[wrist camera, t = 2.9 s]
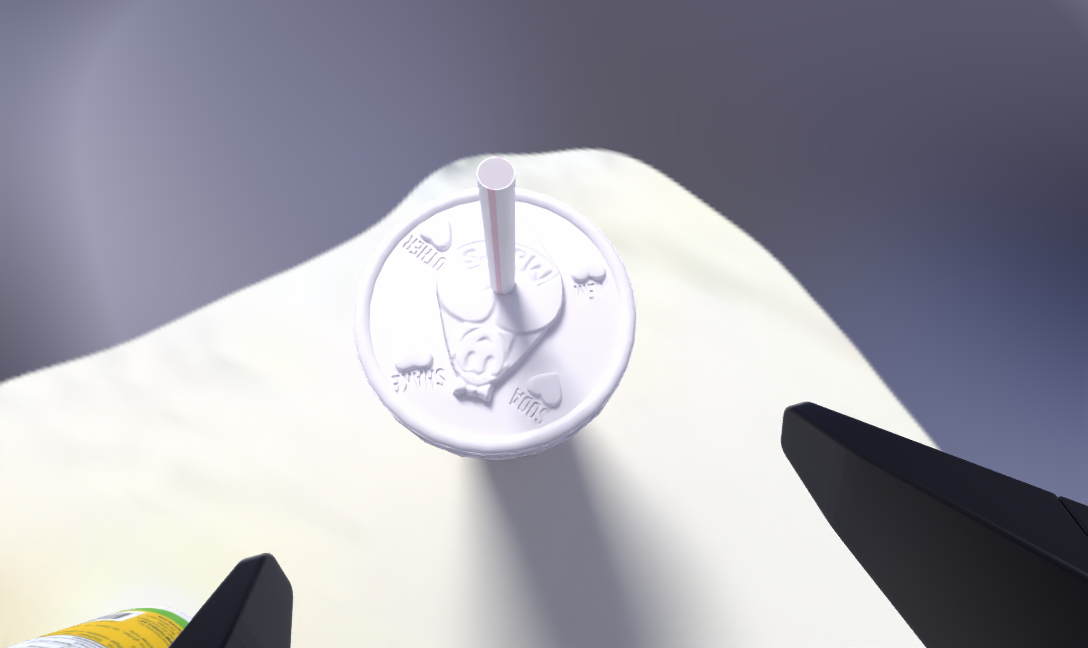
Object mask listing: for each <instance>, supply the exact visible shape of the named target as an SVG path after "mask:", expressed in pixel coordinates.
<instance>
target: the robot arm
mask: <svg viewBox="0 0 1088 648" xmlns="http://www.w3.org/2000/svg"><path fill="white" fill-rule="evenodd" d="M781 446H782V449H783V451H784V453H785V455H786V457H787V458H788V460H789V462H790V463H791V465H792V466H793V468H794V469H795V471H796V472H797V474H798V476H799V477H800V479H801V480H802V482H803V483H804V485H805V487H806V488H807V490H808V491H809V493H810V494H811V496H812V498H813V499H814V501H815V502H816V504H817V505H818V507H819V508H820V510H821V512H822V513H823V515H824V516H825V518H826V519H827V521H828V522H829V524H830V525H831V527H832V528H833V529H834V531H835V532H836V533H837V535H838V536H839V537H840V539H841V540H842V541H843V542H844V544H845V545H846V546H847V547H848V549H849V550H850V551H851V553H852V554H853V555H854V556H855V558H856V559H857V560H858V561H859V563H860V564H861V565H862V567H863V568H864V569H865V570H866V572H867V573H868V574H869V575H870V577H871V578H872V579H873V581H874V582H875V583H876V584H877V586H878V587H879V588H880V589H881V591H882V592H883V593H884V595H885V596H886V597H887V598H888V600H889V601H890V602H891V603H892V605H893V606H894V607H895V609H896V610H897V611H898V612H899V614H900V615H901V616H902V617H903V619H904V620H905V621H906V623H907V624H908V625H909V626H910V628H911V629H912V630H913V631H914V633H915V634H916V635H917V637H918V638H919V639H920V640H921V642H922V643H923V644H924V645H925V647H926V648H1088V506H1086V505H1083V504H1081V503H1078V502H1075V501H1073V500H1070V499H1068V498H1065V497H1062V496H1059V497H1057V496H1056V495H1055V494H1054V493H1051V492H1049V491H1046V490H1043V489H1041V488H1038V487H1035V486H1033V485H1030V484H1027V483H1025V482H1022V481H1019V480H1016V479H1014V478H1011V477H1008V476H1006V475H1003V474H1001V473H998V472H995V471H993V470H990V469H987V468H984V467H982V466H979V465H977V464H974V463H971V462H969V461H966V460H963V459H961V458H958V457H955V456H953V455H950V454H947V453H945V452H942V451H939V450H937V449H934V448H931V447H929V446H926V445H923V444H921V443H918V442H915V441H913V440H910V439H907V438H905V437H902V436H900V435H897V434H894V433H892V432H889V431H886V430H884V429H881V428H878V427H876V426H873V425H870V424H868V423H865V422H862V421H860V420H857V419H854V418H852V417H849V416H846V415H844V414H841V413H838V412H836V411H833V410H830V409H828V408H825V407H822V406H820V405H817V404H814V403H811V402H802V403H799V404H795V405H791V406H788V407H787V408H786V409H785V411H784V415H783V424H782V434H781ZM292 609H293V591H292V586H291V584H290V582H289V580H288V578H287V577H286V575H285V574H284V572H283V570H282V569H281V567H280V565H279V564H278V562H277V561H276V559H275V558H274V556H273V555H271V554H270V553H263V554H260V555H256V556H253V557H249V558H245V559H243V560H242V561H240V562H239V563H238V564H237V565H236V566H235V568H234V569H233V570H232V571H231V572H230V574H229V575H228V576H227V577H226V578H225V580H224V581H223V582H222V583H221V584H220V586H219V587H218V588H217V589H216V590H215V592H214V593H213V594H212V595H211V596H210V598H209V599H208V600H207V601H206V602H205V604H204V605H203V606H202V607H201V608H200V610H199V611H198V612H197V613H196V615H195V616H194V617H193V618H192V619H191V621H190V622H189V623H188V624H187V625H186V627H185V628H184V629H183V630H182V631H181V633H180V634H179V635H178V636H177V637H176V639H175V640H174V641H173V642H172V643H171V645H170V646H169V647H168V648H290V645H291V627H292Z"/></svg>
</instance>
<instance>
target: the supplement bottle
mask: <svg viewBox="0 0 1088 648" xmlns="http://www.w3.org/2000/svg"><path fill="white" fill-rule="evenodd" d="M191 619H192V617H190V616H189V615H187V614H185V613H183V612H181V611H179V610H176V609H172V608H168V607H160V606H145V607H137V608H132V609H128V610H124V611H120V612H116V613H113V614H110V615H107V616H103V617H100V618H97V619H95V620H91V621H88V622H85V623H82V624H79V625H76V626H73V627H70V628H66V629H63V630H60V631H57V632H54V633H51V634H47V635H44V636H41V637H38V638H34V639H31V640H27V641H24V642H22V643H19V644H15V645H12V646H9V647H6V648H168V647H169V646H170V645H171V643H172V642H173V641H174V640H175V639H176V637H177V636H178V635H179V634H180V633H181V631H182V630H183V629H184V628H185V627H186V625H187V624H188V623H189V622H190V621H191Z"/></svg>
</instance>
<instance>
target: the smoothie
mask: <svg viewBox="0 0 1088 648" xmlns="http://www.w3.org/2000/svg"><path fill="white" fill-rule="evenodd" d="M477 181H478V187H477V188H471V189H465V190H461V191H457V192H453V193H450V194H447V195H444V196H441V197H439V198H437V199H435V200H432V201H430V202H428V203H426V204H425V205H423V206H421V207H419V208H417V209H416V210H415V211H413V212H412V213H410V214H409V215H407V216H406V217H405V218H404V219H402V220H401V221H400V222H399V223H397V224H396V225H395V226H394V227H393V228H392V229H391V230H390V231H389V232H388V233H387V235H386V236H385V237H384V238H383V239H382V241H381V242H380V243H379V244H378V246H377V247H376V249H375V250H374V252H373V253H372V255H371V257H370V258H369V260H368V262H367V264H366V266H365V268H364V271H363V273H362V275H361V278H360V281H359V284H358V287H357V291H356V296H355V301H354V309H353V335H354V343H355V348H356V352H357V356H358V359H359V362H360V365H361V368H362V371H363V373H364V375H365V377H366V379H367V381H368V383H369V385H370V386H371V388H372V390H373V391H374V393H375V394H376V396H377V397H378V398H379V400H380V401H381V402H382V404H383V405H384V406H385V407H386V408H387V409H388V410H389V411H390V412H391V414H392V415H393V417H394V418H395V419H396V420H397V421H398V422H399V423H401V424H402V425H403V426H405V427H406V428H407V429H408V430H410V431H411V432H412V433H414V434H415V435H416V436H418V437H419V438H420V439H422V440H423V441H424V442H426V443H428V444H430V445H433V446H435V447H438V448H441V449H443V450H446V451H448V452H451V453H453V454H456V455H458V456H461V457H471V458H481V459H491V460H505V459H510V458H516V457H522V456H528V455H534V454H538V453H540V452H542V451H544V450H547V449H549V448H551V447H553V446H555V445H557V444H559V443H562V442H564V441H566V440H568V439H570V438H572V437H573V436H574V435H575V434H576V433H578V432H579V431H580V430H581V429H582V428H583V427H585V426H586V425H587V424H588V423H589V422H591V421H592V420H593V419H594V418H595V417H596V416H598V415H599V414H600V412H601V411H602V409H603V408H604V406H605V405H606V403H607V402H608V400H609V399H610V397H611V396H612V394H613V393H614V391H615V390H616V388H617V387H618V385H619V383H620V381H621V379H622V377H623V375H624V373H625V370H626V368H627V366H628V363H629V360H630V357H631V354H632V350H633V346H634V341H635V333H636V304H635V298H634V292H633V288H632V284H631V281H630V278H629V275H628V273H627V270H626V268H625V265H624V263H623V261H622V259H621V258H620V256H619V254H618V252H617V251H616V249H615V248H614V246H613V245H612V243H611V242H610V241H609V240H608V238H607V237H606V236H605V234H604V233H603V232H602V231H601V230H600V229H599V228H598V227H597V226H596V225H595V224H594V223H592V222H591V221H590V220H589V219H588V218H587V217H585V216H584V215H583V214H581V213H580V212H578V211H577V210H576V209H574V208H572V207H571V206H569V205H567V204H565V203H563V202H561V201H559V200H557V199H555V198H553V197H550V196H547V195H545V194H542V193H539V192H535V191H531V190H527V189H521V188H515V169H514V167H513V165H512V164H511V163H510V162H509V161H508V160H506V159H504V158H501V157H490V158H487V159H485V160H484V161H482V162H481V163H480V165H479V166H478V168H477Z"/></svg>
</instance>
